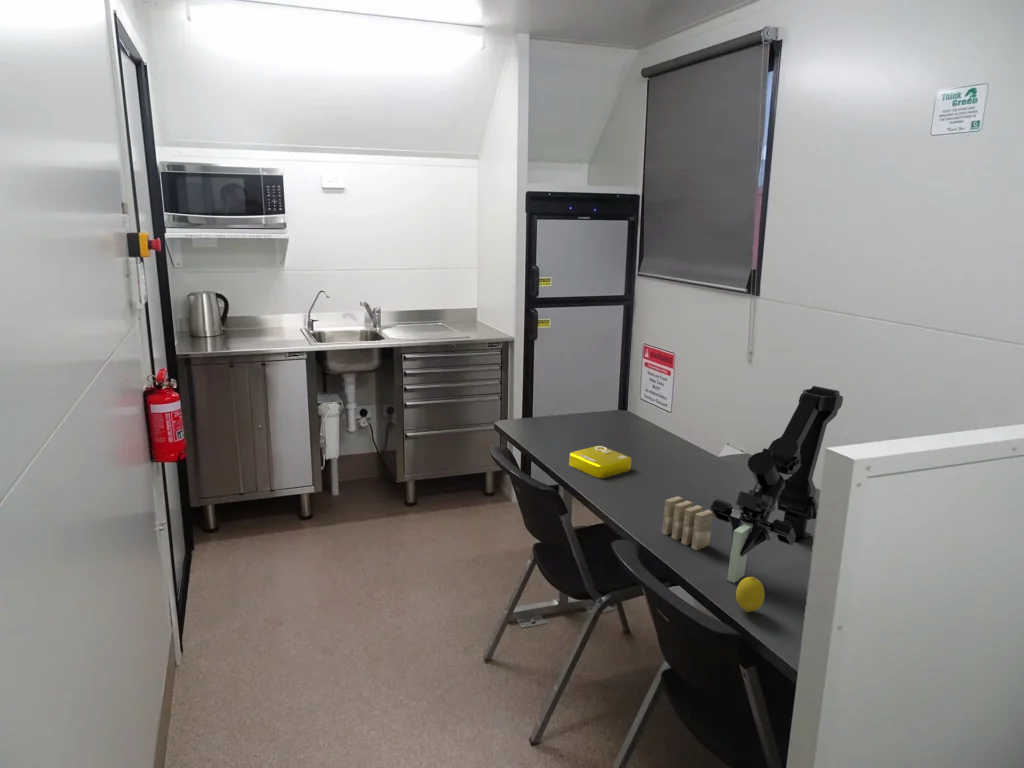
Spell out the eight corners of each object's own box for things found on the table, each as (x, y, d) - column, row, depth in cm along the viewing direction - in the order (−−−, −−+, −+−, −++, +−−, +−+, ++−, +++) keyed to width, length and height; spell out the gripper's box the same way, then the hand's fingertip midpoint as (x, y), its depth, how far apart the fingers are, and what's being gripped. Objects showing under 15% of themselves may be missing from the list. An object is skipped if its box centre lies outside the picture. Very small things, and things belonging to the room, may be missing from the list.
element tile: (566, 465, 226) (567, 451, 225) (598, 456, 236) (599, 443, 234) (599, 480, 215) (601, 465, 214) (632, 471, 224) (634, 456, 223)
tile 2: (681, 542, 176) (685, 509, 174) (693, 537, 179) (697, 505, 177) (686, 545, 175) (690, 511, 173) (698, 540, 178) (703, 507, 176)
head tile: (726, 580, 159) (733, 530, 156) (736, 573, 163) (743, 524, 160) (734, 583, 158) (741, 533, 155) (744, 576, 161) (751, 526, 158)
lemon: (755, 604, 150) (760, 570, 148) (765, 619, 144) (771, 584, 142) (730, 604, 150) (734, 569, 148) (739, 618, 144) (744, 583, 142)
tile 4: (661, 532, 181) (665, 500, 179) (674, 528, 184) (678, 496, 182) (666, 534, 180) (670, 502, 178) (679, 530, 183) (682, 498, 181)
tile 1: (691, 547, 174) (695, 514, 172) (703, 543, 177) (708, 509, 175) (696, 550, 173) (700, 516, 170) (709, 545, 176) (713, 512, 173)
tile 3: (671, 537, 179) (675, 504, 177) (683, 533, 182) (687, 500, 179) (676, 539, 178) (680, 506, 175) (688, 535, 180) (692, 502, 178)
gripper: (718, 466, 163) (689, 523, 158) (798, 490, 151) (769, 553, 146) (730, 489, 171) (702, 544, 166) (807, 514, 159) (779, 575, 154)
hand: (736, 553), depth 158 cm, fingers closed on head tile, 2 cm apart
